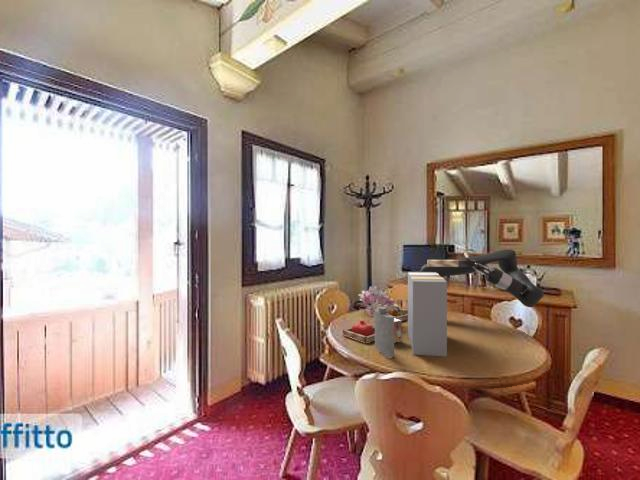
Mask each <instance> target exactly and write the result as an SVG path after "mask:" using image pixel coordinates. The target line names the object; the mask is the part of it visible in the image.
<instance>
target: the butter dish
mask: <svg viewBox="0 0 640 480" xmlns="http://www.w3.org/2000/svg"><path fill="white" fill-rule="evenodd" d="M351 327H352V332H354V333H357V334H360V335H363V336H366V337H367V336H370V335H373V334H375V333H374V332H373V328H372V327H373V326H371V324H370V323H367V322H365V320H364V319H360V320H359V322H358V323H355V324H354V325H352V326H351Z"/></svg>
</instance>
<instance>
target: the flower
mask: <svg viewBox="0 0 640 480" xmlns="http://www.w3.org/2000/svg"><path fill="white" fill-rule="evenodd" d="M357 296H359V298H360V299H359V301H361V302H363V305H364V306H365V307H366V309H367V310H370V311H369V312H368V315H371V312H373V314H372V316H373V317H372V318H373V320H374V321H375V309H377V308H379V307H386V308H387V310H386V311H388V310H389V309H391V310H393V309H394V310H397V309H396V308H395V306H394V305H393V304H396V301H395V299H394V298H390V296H388V295H387V292H386V291H384V290H382V289H377V286H375V285H373V286H372V285H371V286H369V288H368V290H366V291H365V290H361V293H359V294H358V295H357ZM380 304H381V305H380ZM384 305H385V306H384ZM374 307H375V308H374ZM397 312H398V310H397ZM387 314H388V313H387ZM370 325H371V326H372V327H375V323H371V324H370Z"/></svg>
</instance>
